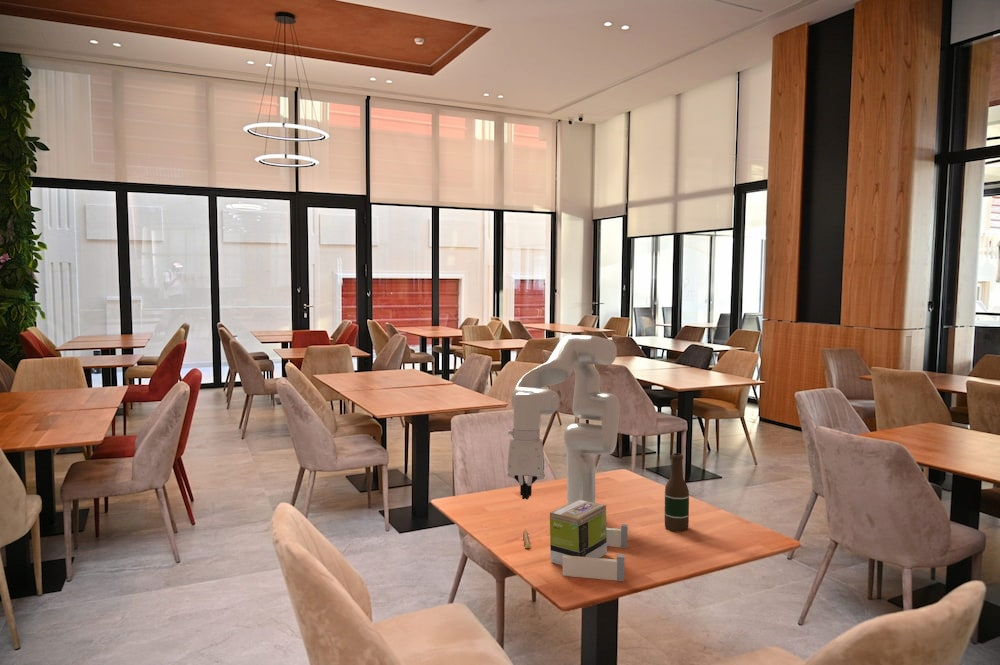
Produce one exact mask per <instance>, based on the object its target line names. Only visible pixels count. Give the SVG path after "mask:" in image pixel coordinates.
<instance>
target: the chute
mask: <svg viewBox="0 0 1000 665" xmlns="http://www.w3.org/2000/svg"><path fill="white" fill-rule="evenodd" d="M620 525H621V526H620V527H621V528H614V527H613V528H612V527H606V534H607V537H606V538H607V541H606V542H607V547H613V548H614V547H615V548H616V547H617V548H625V549H627V548H628V535H629V534H628V533H629V532H628V526H629V525H628V524H626V523H624V524H620ZM616 558H617V559H616ZM616 558H615V559H614V558H603V557H600V558H591V557H579V556H567V555H563V566H562V576H563V577H571V578H572V577H575V578H585V579H586V578H587V579H596V580H607V581H617V582H625V554H617V556H616Z"/></svg>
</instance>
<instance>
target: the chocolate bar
mask: <svg viewBox="0 0 1000 665" xmlns="http://www.w3.org/2000/svg"><path fill="white" fill-rule="evenodd" d="M522 533H523V539H522V542H523V541H524V545H523V548H524V547H525V548H531V549H532V546H530V545H531V540H530V535H529V533H528V531H527V529H526V528H524V530H523V531H522ZM528 535H529V536H528ZM529 540H530V541H529Z"/></svg>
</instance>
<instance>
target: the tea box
mask: <svg viewBox="0 0 1000 665" xmlns="http://www.w3.org/2000/svg"><path fill="white" fill-rule="evenodd" d="M606 528H607V505H606V504H602V503H596V502H595V503H592V502H587V501H583V500H579V499H578V500H575V501H573V502H571V503H569V504H567V503H566V504H565V505H563V506H561V507H559V508H556V509H554V510H553V511H550V512H549V534H550V535H549V536H550V537H549V538H550V540H549V543H550V544H549V545H550V552H549V553H550V563H553V564H556V565H559V566H562V567H563V555H567V556H579V557H591V558H603V557H604V556H605V555H606V554H608V551H607V550H608V546H607V542H606V541H607V538H606V537H607V534H606Z"/></svg>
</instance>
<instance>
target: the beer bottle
mask: <svg viewBox="0 0 1000 665" xmlns="http://www.w3.org/2000/svg"><path fill="white" fill-rule="evenodd" d="M683 459H684V456H683V454H682V453H672V454H671V470H670V477H669V479H668V481H667V482H666V485H665V486H664V527H665V530H668V531H671V532H675V533H676V532H678V533H684V532H686V531H688V530H689V526H690V525H689V523H690V522H689V517H690V512H689V511H690V510H689V509H690V493H689V492H690V489H689V487H688V485H687V483H686V481H685V479H684V470H683V468H684V467H683Z"/></svg>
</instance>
